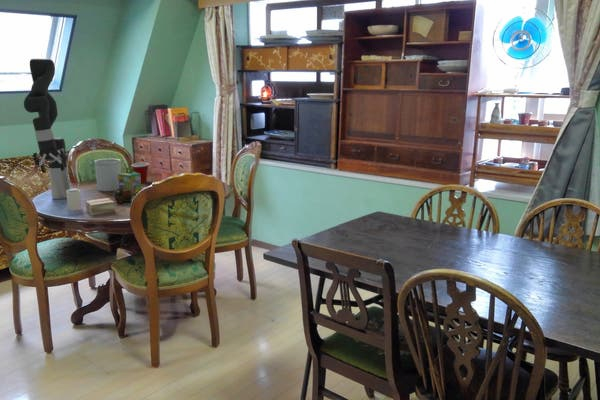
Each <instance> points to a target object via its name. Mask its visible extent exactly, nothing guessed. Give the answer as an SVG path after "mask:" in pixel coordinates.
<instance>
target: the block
mask: <svg viewBox="0 0 600 400" xmlns="http://www.w3.org/2000/svg"><path fill="white" fill-rule="evenodd" d="M115 206H116V205H115V201H113V200H112V199H111V198H109V197H105V198H97V199H96V198H95V199H89V200H85V208H86V211H87V212H88V213H89V214H90V215H91V216H95V215H102V214H108V213H115V212H116V207H115Z"/></svg>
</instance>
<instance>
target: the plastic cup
mask: <svg viewBox="0 0 600 400" xmlns="http://www.w3.org/2000/svg"><path fill="white" fill-rule="evenodd" d="M149 165H150V164H149V162H147V161H146V162H135V163H132V164H131V168H133V172H135V173H140V175H141V182H145V183H147V180H148V179H147V178H148V170H149Z"/></svg>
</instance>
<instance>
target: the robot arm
mask: <svg viewBox="0 0 600 400" xmlns="http://www.w3.org/2000/svg"><path fill="white" fill-rule="evenodd" d="M55 67H56V66H55V63H54V61H53V60H52V59H51V58H31V59H30V60H29V68H30V74H31V79H32V85H31V89H30V92H29V93H28V94H27V95H26V96H25V98H24V100H23V107H24V108H23V109H25V111H26V112H28V113H31V114H33V113H37V115H38V116H37V117H34V118H33V119H32V124H33V129H34V133H35V139H36V143H37V147H38V150H39V152H37V151H35V152H33V154H32V155H33V161H34V164H35V166H39V167H40V171H41V173H42V174H46V173H47V169H46V165H45V162H46V161H49V162H48V163H47V165H48V173H49V181H50V189H51V197H52V199H53V200H64V199H67V195H66V191H67V189H71V184H70V179H69V172H68V163H67V161H68V158H67V155H66V153H67V152H66V151H67V150H66V142H65V139H64V138H63V137H55V136H54V133H53V130H52V127H53V124H54V123H55V121H56V119H57V118H58V115H59V114H58V106H57V101H56V99H54V97H53V96H52V94H51V93H50V92H49V87H50V85H51V83H52V81H53V79H54V78H55V74H56V68H55ZM40 156H41V160H40V158H39V157H40ZM51 160H52V161H51Z"/></svg>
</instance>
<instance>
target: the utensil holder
mask: <svg viewBox="0 0 600 400" xmlns="http://www.w3.org/2000/svg"><path fill="white" fill-rule="evenodd" d="M121 162H122V160H121V159H120V158H110V157H108V158H100V159H95V160H94V168H95V176H96V185H97V190H98V191H101V192H114V190H117V189H119V182H118V174H122V167H121V165H122V163H121Z"/></svg>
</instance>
